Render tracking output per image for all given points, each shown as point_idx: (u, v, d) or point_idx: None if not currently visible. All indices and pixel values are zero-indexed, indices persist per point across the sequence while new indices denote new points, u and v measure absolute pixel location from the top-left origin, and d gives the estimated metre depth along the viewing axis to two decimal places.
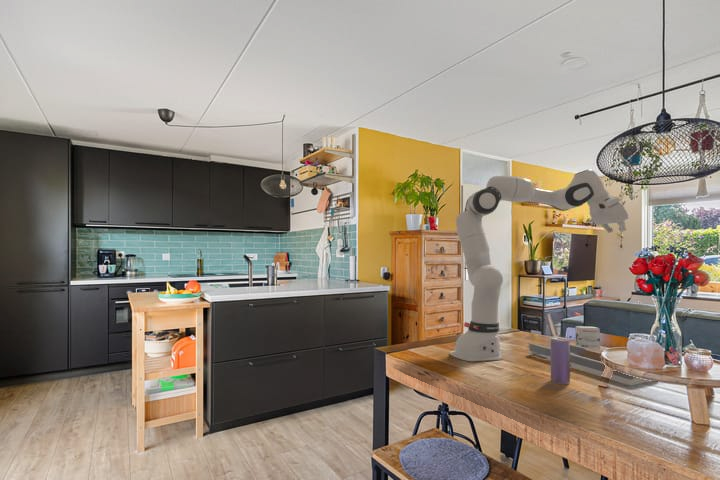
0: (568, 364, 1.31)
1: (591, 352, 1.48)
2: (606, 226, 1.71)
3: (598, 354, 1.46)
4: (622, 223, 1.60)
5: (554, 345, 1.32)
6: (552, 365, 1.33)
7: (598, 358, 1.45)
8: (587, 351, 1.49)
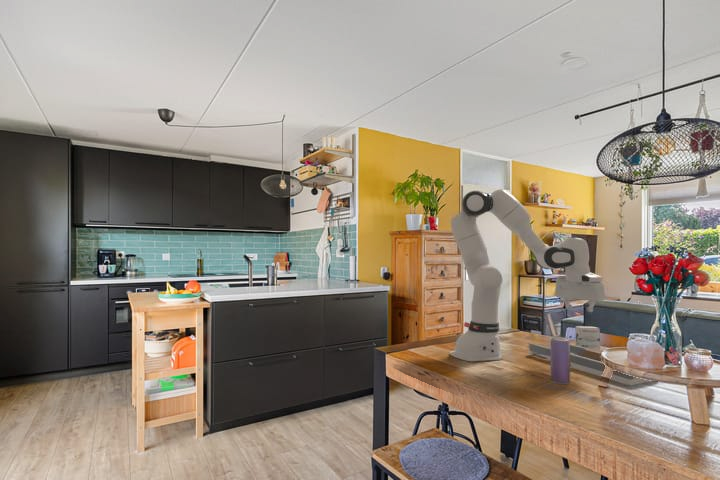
0: (568, 364, 1.31)
1: (591, 352, 1.48)
2: (567, 301, 1.63)
3: (598, 354, 1.46)
4: (593, 303, 1.53)
5: (554, 345, 1.32)
6: (552, 365, 1.33)
7: (598, 358, 1.45)
8: (587, 351, 1.49)
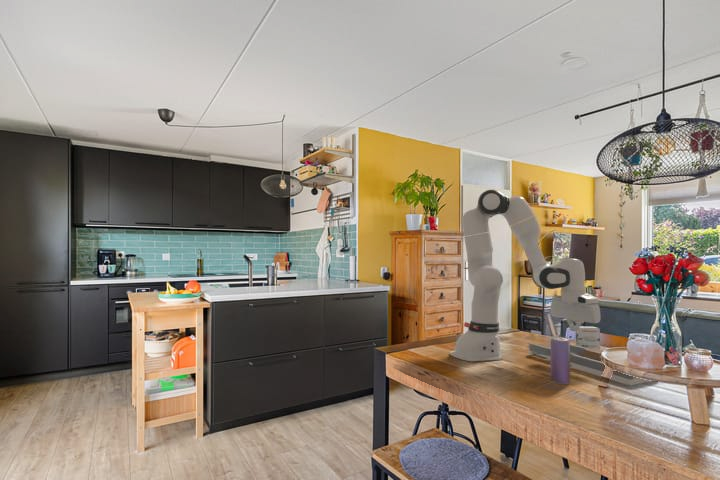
0: (568, 364, 1.31)
1: (591, 352, 1.48)
2: (571, 323, 1.60)
3: (598, 354, 1.46)
4: (580, 323, 1.56)
5: (554, 345, 1.32)
6: (552, 365, 1.33)
7: (598, 358, 1.45)
8: (587, 351, 1.49)
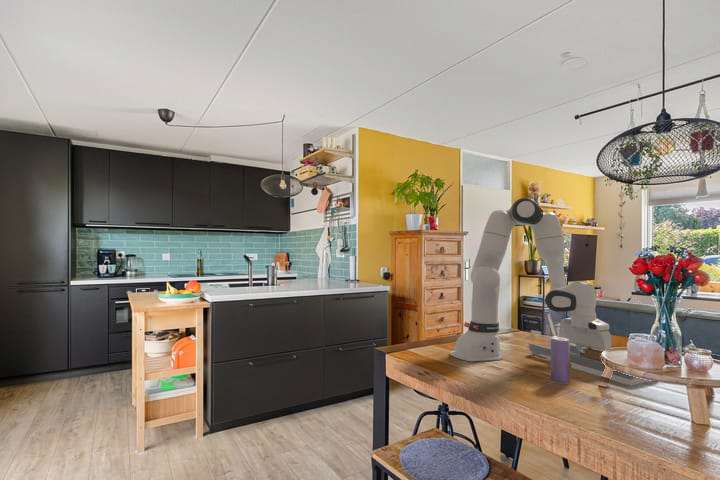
0: (568, 364, 1.31)
1: (591, 352, 1.48)
2: (580, 348, 1.55)
3: (598, 354, 1.46)
4: None
5: (554, 345, 1.32)
6: (552, 365, 1.33)
7: (598, 358, 1.45)
8: (587, 351, 1.49)
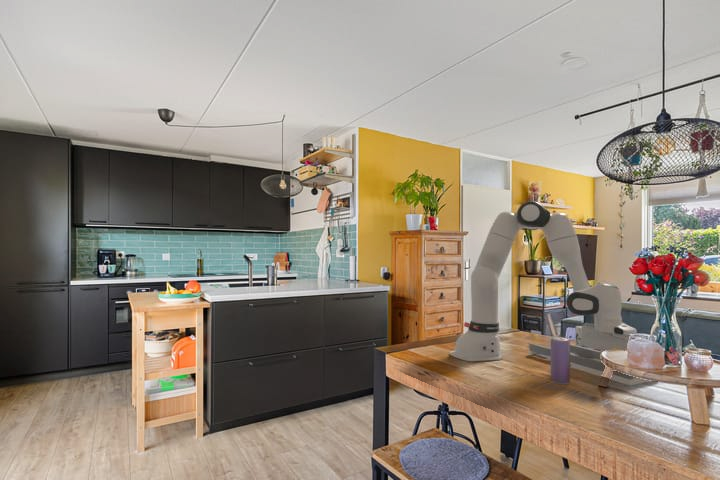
0: (568, 364, 1.31)
1: None
2: None
3: None
4: None
5: (554, 345, 1.32)
6: (552, 365, 1.33)
7: None
8: None
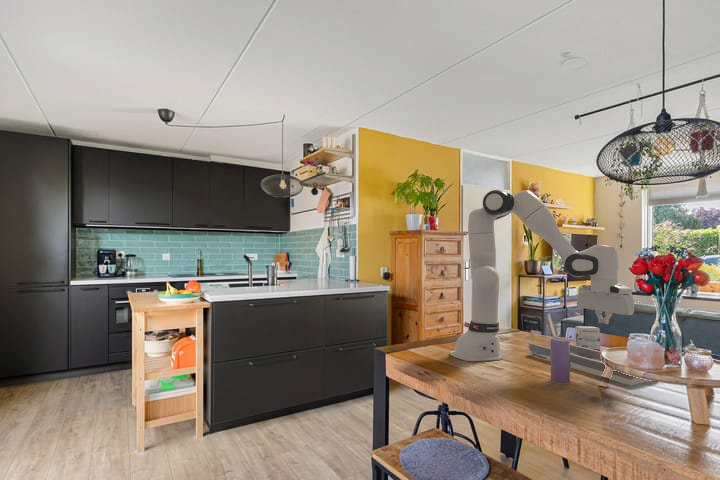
0: (568, 364, 1.31)
1: None
2: (600, 315, 1.48)
3: None
4: (610, 315, 1.45)
5: (554, 345, 1.32)
6: (552, 365, 1.33)
7: None
8: None
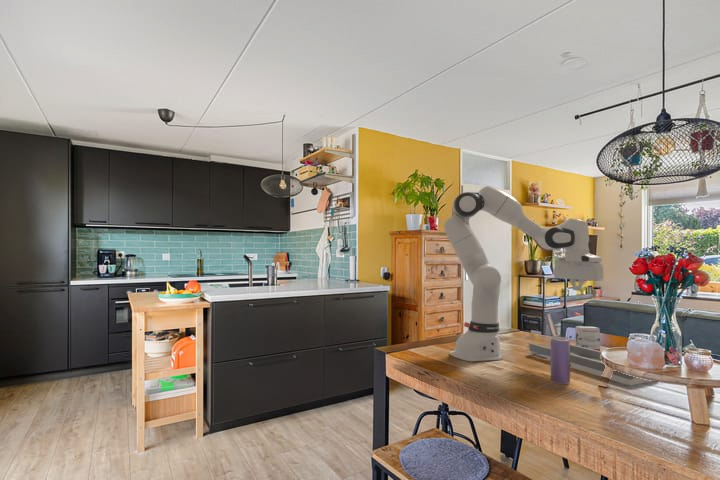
0: (568, 364, 1.31)
1: None
2: (574, 283, 1.63)
3: None
4: (582, 282, 1.59)
5: (554, 345, 1.32)
6: (552, 365, 1.33)
7: None
8: None
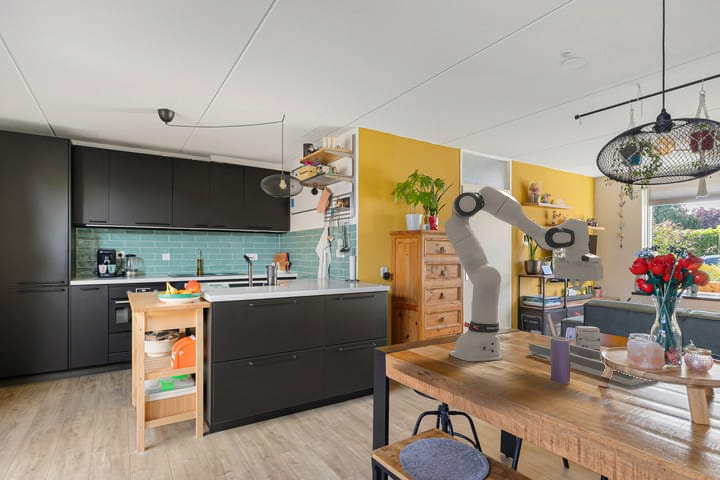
0: (568, 364, 1.31)
1: None
2: (574, 283, 1.63)
3: None
4: (582, 282, 1.59)
5: (554, 345, 1.32)
6: (552, 365, 1.33)
7: None
8: None
